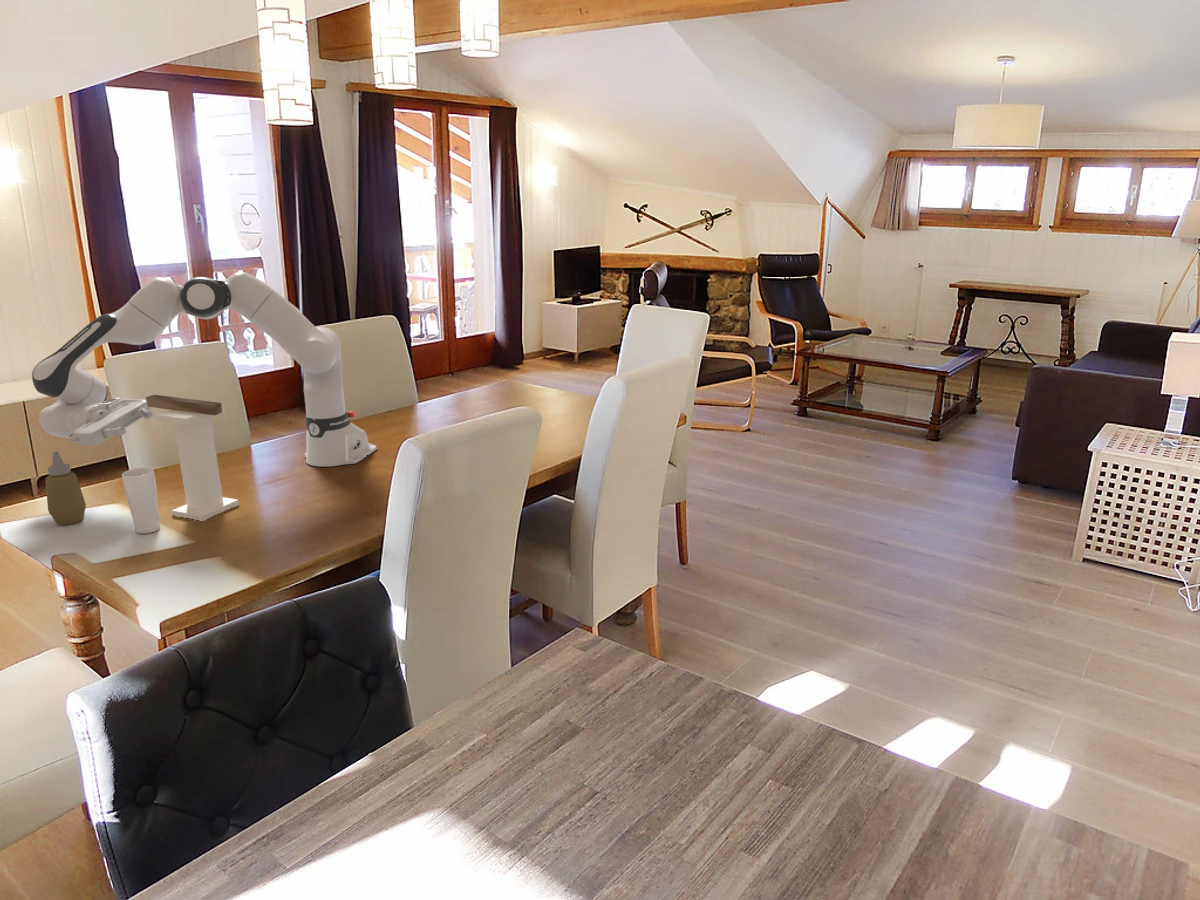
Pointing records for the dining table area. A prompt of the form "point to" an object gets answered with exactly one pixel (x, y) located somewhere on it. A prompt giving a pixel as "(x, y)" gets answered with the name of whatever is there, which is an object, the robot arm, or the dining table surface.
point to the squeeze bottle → (64, 493)
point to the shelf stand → (197, 465)
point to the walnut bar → (184, 404)
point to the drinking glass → (142, 499)
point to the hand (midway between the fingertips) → (137, 422)
